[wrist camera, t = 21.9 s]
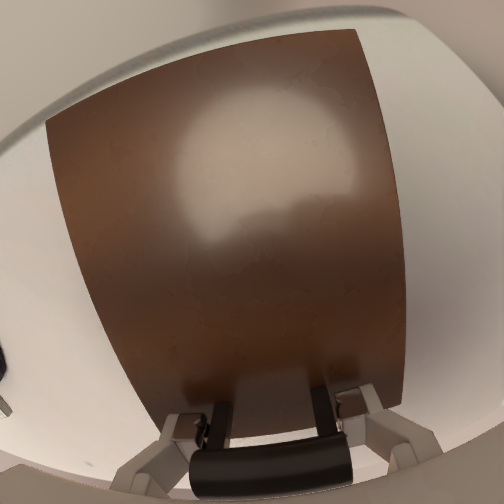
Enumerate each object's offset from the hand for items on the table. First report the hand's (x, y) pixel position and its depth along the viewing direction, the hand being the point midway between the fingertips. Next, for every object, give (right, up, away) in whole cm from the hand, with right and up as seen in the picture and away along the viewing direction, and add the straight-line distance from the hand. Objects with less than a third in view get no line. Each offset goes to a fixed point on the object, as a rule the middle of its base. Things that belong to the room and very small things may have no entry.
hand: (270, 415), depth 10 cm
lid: (-1, +6, 0) cm, 6 cm away
